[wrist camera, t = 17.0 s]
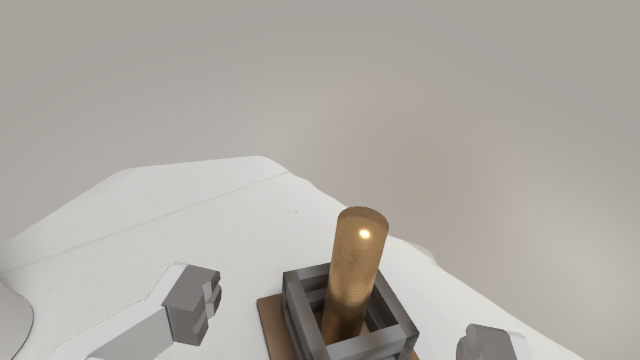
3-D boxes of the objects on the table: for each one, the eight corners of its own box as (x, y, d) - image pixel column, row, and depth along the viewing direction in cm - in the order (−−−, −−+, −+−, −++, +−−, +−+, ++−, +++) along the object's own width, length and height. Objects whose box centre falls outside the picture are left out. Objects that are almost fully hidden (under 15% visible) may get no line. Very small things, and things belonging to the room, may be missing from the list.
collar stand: (291, 446, 31) (297, 406, 27) (256, 304, 43) (256, 260, 39) (432, 390, 37) (456, 349, 32) (366, 278, 49) (377, 237, 45)
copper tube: (327, 363, 37) (350, 244, 27) (314, 327, 40) (329, 210, 31) (364, 351, 39) (398, 234, 29) (347, 317, 42) (373, 203, 32)
